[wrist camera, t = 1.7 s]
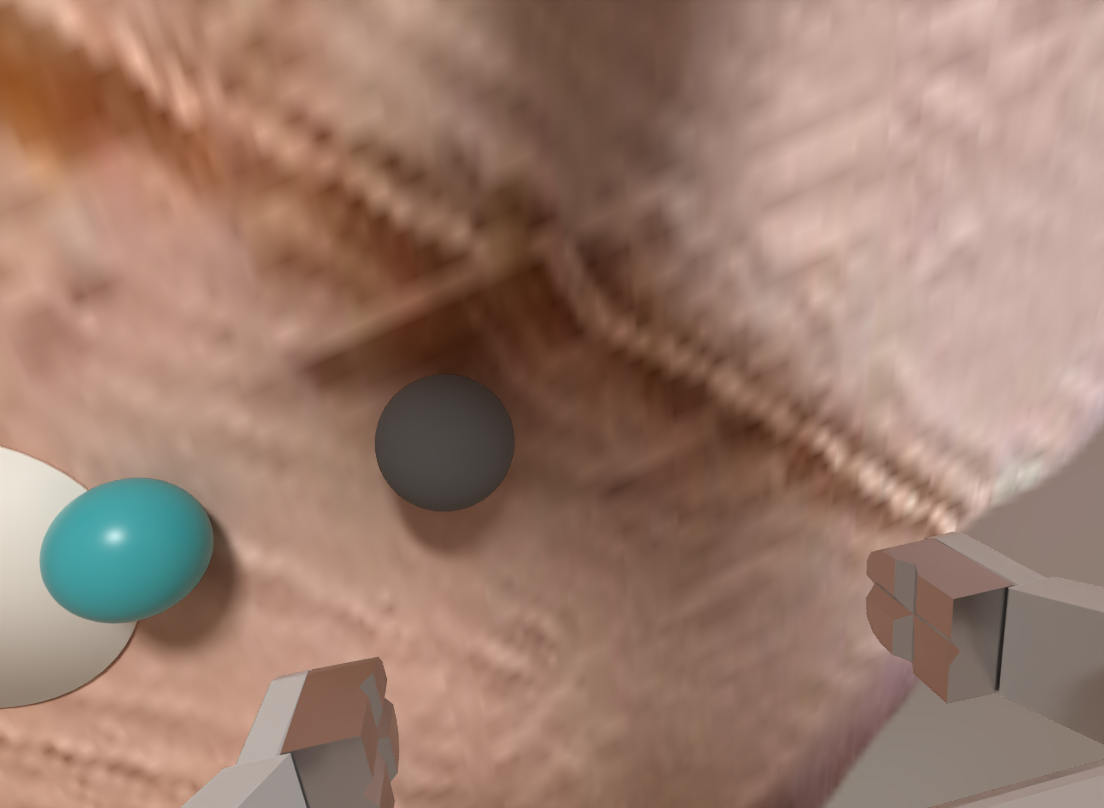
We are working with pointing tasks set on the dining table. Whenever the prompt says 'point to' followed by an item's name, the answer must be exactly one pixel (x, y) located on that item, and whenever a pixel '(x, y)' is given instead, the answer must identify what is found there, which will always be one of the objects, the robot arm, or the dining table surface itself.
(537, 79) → the dining table surface
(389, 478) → the dark grey ball
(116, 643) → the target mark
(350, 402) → the dining table surface
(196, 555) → the object ball
